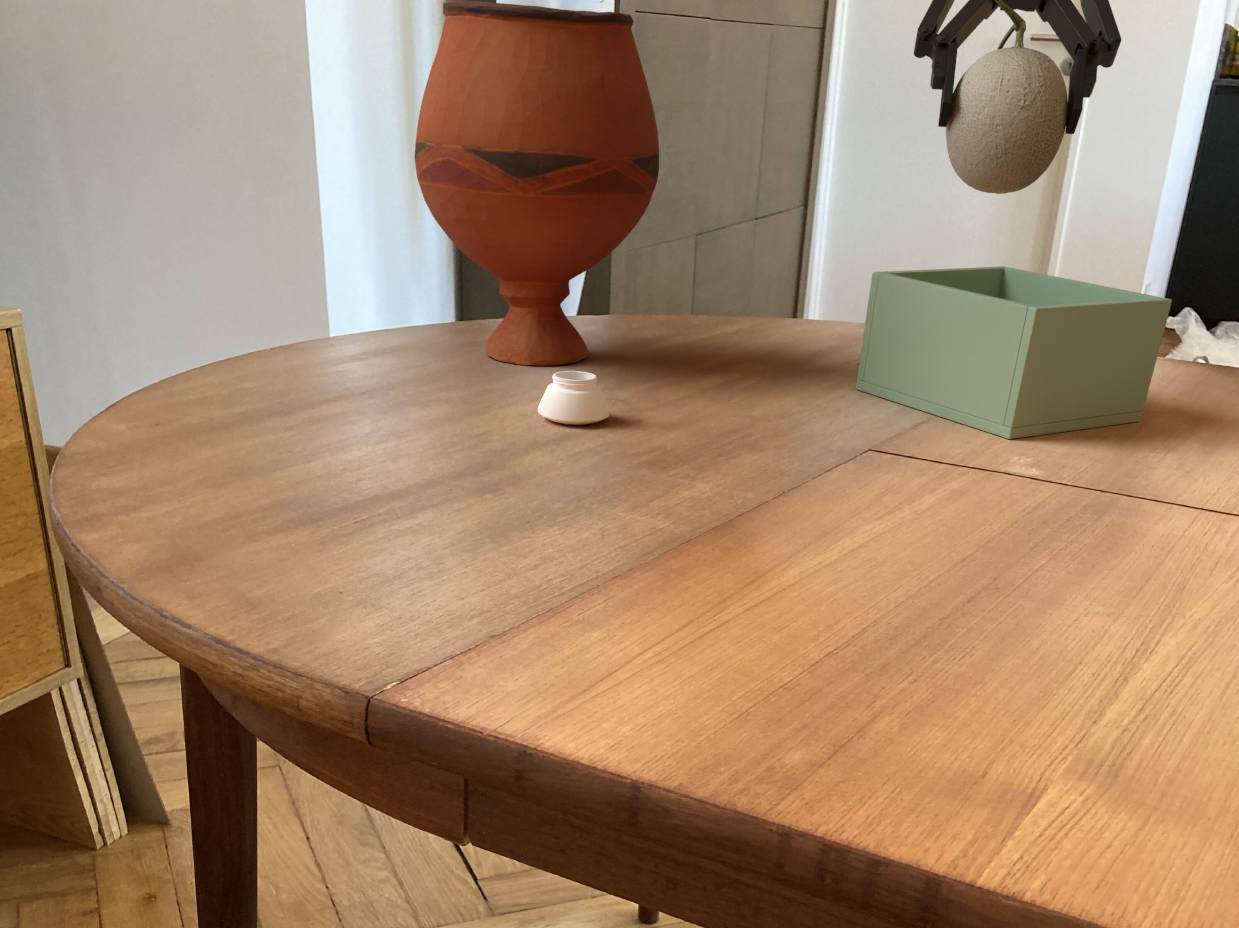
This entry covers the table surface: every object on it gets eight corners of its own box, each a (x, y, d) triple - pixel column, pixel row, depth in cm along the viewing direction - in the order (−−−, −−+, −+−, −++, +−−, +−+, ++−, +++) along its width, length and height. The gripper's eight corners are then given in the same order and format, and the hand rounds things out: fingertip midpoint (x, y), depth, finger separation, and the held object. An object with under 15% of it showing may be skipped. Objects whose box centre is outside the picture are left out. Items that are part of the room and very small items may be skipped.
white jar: (577, 407, 91) (523, 415, 88) (578, 365, 90) (524, 372, 87) (623, 421, 88) (569, 431, 85) (625, 378, 87) (570, 386, 84)
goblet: (395, 370, 99) (379, -8, 86) (450, 327, 115) (444, 4, 102) (635, 388, 98) (656, 6, 84) (656, 342, 114) (676, 16, 101)
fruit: (1024, 189, 122) (1059, 6, 114) (1068, 201, 112) (1110, 1, 104) (919, 184, 121) (948, -1, 113) (955, 196, 111) (989, -6, 103)
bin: (1140, 421, 97) (1172, 299, 92) (1009, 439, 90) (1036, 308, 85) (982, 376, 108) (1003, 266, 104) (855, 389, 101) (872, 271, 97)
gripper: (1141, -38, 118) (1129, 158, 113) (896, -48, 121) (873, 143, 116) (1169, -115, 111) (1157, 91, 106) (907, -124, 114) (883, 77, 109)
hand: (1009, 118), depth 111 cm, fingers closed on fruit, 10 cm apart
